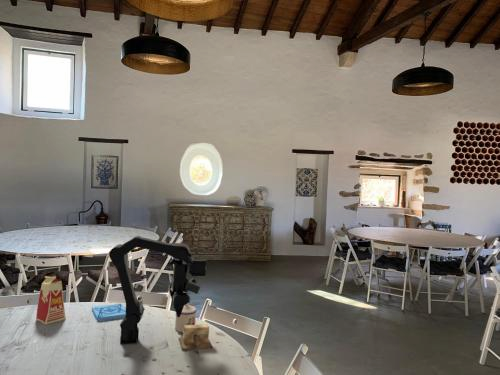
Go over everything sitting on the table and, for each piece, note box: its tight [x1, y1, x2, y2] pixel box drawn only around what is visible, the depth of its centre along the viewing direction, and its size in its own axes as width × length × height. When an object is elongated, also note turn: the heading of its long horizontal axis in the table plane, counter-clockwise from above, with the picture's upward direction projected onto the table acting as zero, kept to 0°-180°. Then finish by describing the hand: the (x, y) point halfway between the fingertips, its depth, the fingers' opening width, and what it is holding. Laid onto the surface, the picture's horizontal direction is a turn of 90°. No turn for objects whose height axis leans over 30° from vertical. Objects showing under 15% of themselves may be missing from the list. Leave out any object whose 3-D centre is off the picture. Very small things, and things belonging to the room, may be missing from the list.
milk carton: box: [35, 275, 66, 325], centre depth 173 cm, size 9×9×20 cm
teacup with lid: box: [174, 302, 197, 333], centre depth 174 cm, size 12×9×12 cm
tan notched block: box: [182, 323, 210, 344], centre depth 159 cm, size 10×3×6 cm, turn 108°
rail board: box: [178, 334, 213, 351], centre depth 159 cm, size 12×10×4 cm
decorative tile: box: [91, 303, 126, 322], centre depth 184 cm, size 14×14×2 cm
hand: (177, 312), depth 159 cm, fingers open, 9 cm apart
